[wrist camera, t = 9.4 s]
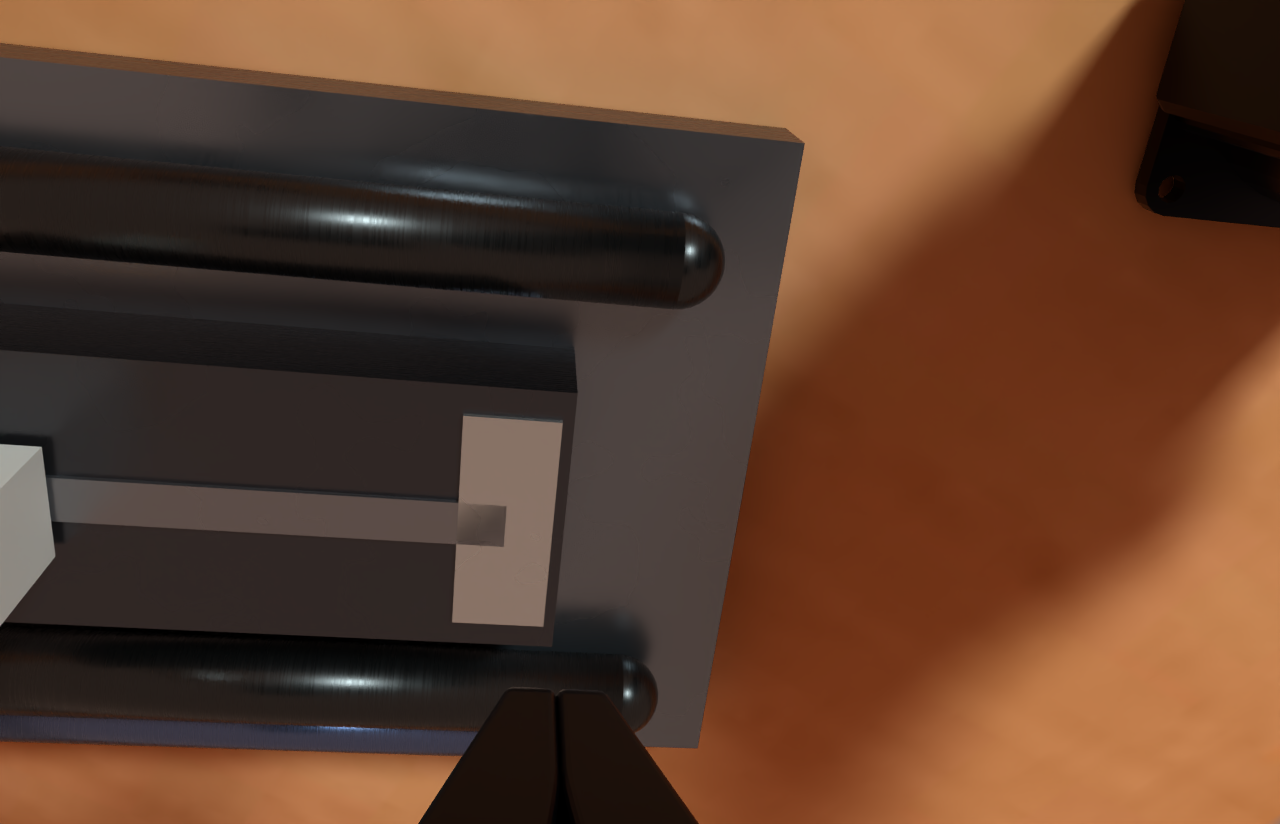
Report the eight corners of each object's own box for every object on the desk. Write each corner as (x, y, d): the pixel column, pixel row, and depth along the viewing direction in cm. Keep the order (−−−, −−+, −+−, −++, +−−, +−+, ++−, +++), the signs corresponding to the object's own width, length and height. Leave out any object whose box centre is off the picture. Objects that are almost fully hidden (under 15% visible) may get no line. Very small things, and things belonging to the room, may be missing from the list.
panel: (786, 127, 19) (836, 168, 16) (688, 702, 24) (711, 822, 21) (-311, 9, 17) (-518, 26, 13) (-158, 669, 22) (-281, 796, 19)
